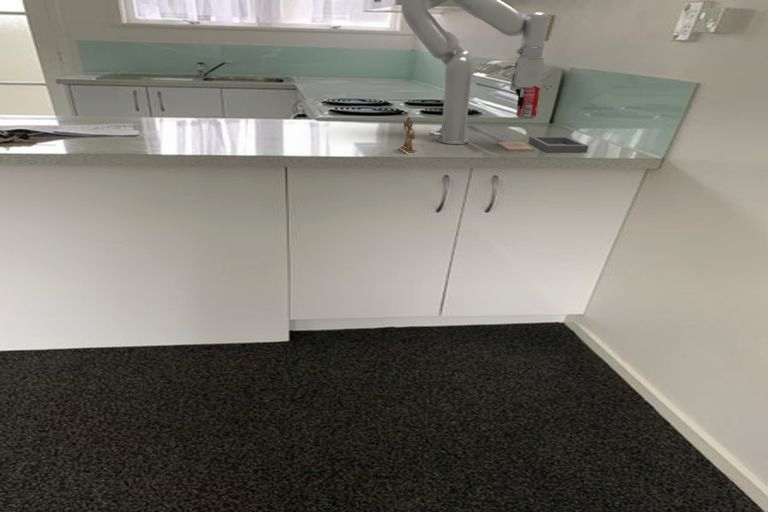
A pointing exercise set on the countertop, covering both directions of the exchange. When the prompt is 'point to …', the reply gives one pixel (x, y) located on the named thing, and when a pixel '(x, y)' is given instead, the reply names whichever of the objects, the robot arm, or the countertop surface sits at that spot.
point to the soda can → (529, 103)
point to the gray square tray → (569, 147)
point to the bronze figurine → (406, 124)
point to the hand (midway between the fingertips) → (522, 108)
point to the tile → (515, 146)
